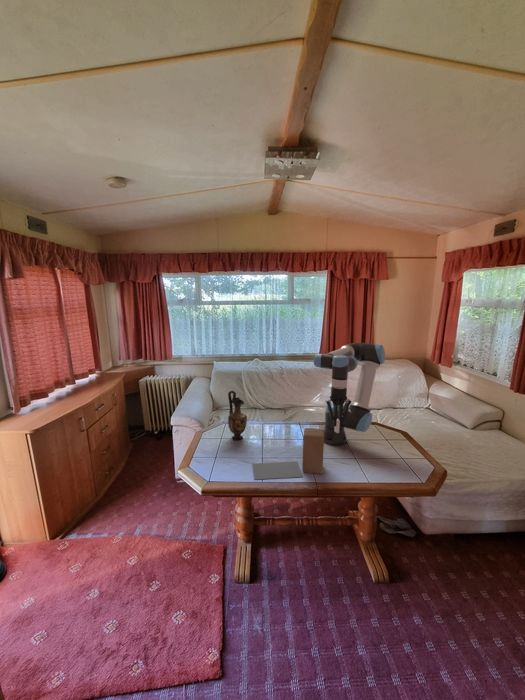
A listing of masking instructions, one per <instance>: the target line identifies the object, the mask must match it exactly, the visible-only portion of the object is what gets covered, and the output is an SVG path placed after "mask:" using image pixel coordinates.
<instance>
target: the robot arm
mask: <svg viewBox="0 0 525 700" xmlns="http://www.w3.org/2000/svg"><path fill="white" fill-rule="evenodd" d="M385 353H386V352H385V348H384V345H382V344H379V343H367V342H353V343H349V344H348V343H347V344H345V345H342V346H341V348H338V349H336V350H333V351H330V352H327V353H325V354H324V353H317V354H316V353H315V354H314V355H315V356H314V358H313V364H314V367H317V368H320V369H326V370H331V383H330V384H331V388H330V396H329V398H328V399H325V404H326V406H325V411H324V413H325V417H324V428H323V430H324V444H325V443H326V444H328V445H330V446H342V445H345V444H346V443H347V435H346V430H345V428H346V429H350V430H353V431H357V432H360V433H361V432H362V433H365V432H367V431H368V430H369V429H370V427H371V424H372V421H373V413H371V408H369V405H370V401H371V395H372V391H373V387H374V382H375V378H376V374H377V369H379V368H380V367H381V365H383V364H384V363H385V360H386V359H385V358H386V354H385ZM358 362H359V364H360V365H361V369H360V373H359V377H358V380H357V381H358V382H357V386H356V390H355V395H354V398H353V402H352V400H350V399H349V398H348V397H347V394H348V376H349V372H350V373H351V372H353V371H354V370H355V369H357V367H358V365H359V364H358Z"/></svg>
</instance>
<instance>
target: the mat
mask: <svg viewBox="0 0 525 700" xmlns="http://www.w3.org/2000/svg"><path fill="white" fill-rule="evenodd" d="M251 465H252V472H253V473H252V474H253V479H254V481H258V480H276V479H279V480H280V479H295V478H297V479H298V478H304V475H303V471H302V468H301V467H300V465H299V462H298V461H296V460H295V461H277V462H256V463H255V462H254V463H252V464H251Z"/></svg>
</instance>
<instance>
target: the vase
mask: <svg viewBox="0 0 525 700" xmlns="http://www.w3.org/2000/svg"><path fill="white" fill-rule="evenodd" d="M231 394H232V395H231ZM227 395H228V396H227V397H228V404H229V405H228V406H229V411H228V412H229V414H228V418H227V424H228V429H229V431H230V432H231V433H232V434H233V436H231V440H232V439H233V440H232V441H234V440H235V441H234V442H239V440H240V441H242V440H243V439H244V437H243V436H242V433H244V432H245V430H246V428H247V422H248V416H247V415H246V414H245V413H244V412H241V406H242V405H244V404H245V401H244V400H242V399H241V398H240V397H237V393H236V391H235V390H231V391H229V392H228V394H227ZM233 405H234V408H233ZM233 410H234V411H233Z"/></svg>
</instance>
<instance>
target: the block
mask: <svg viewBox="0 0 525 700" xmlns="http://www.w3.org/2000/svg"><path fill="white" fill-rule="evenodd" d="M302 440H303V441H302V462H301V463H302V467H301V471H302V473H303V472H304V473H308V474H316V475H322V474H323V473H324V471H323V470H324V468H323V467H324V445H325V442H324V428H323V429H322V428H311V427H305V428H304V430H303V437H302Z"/></svg>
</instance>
